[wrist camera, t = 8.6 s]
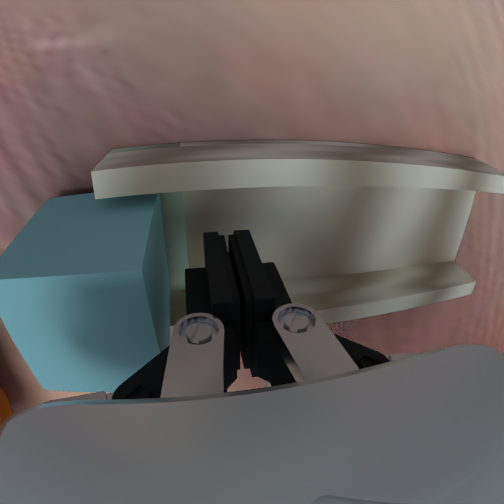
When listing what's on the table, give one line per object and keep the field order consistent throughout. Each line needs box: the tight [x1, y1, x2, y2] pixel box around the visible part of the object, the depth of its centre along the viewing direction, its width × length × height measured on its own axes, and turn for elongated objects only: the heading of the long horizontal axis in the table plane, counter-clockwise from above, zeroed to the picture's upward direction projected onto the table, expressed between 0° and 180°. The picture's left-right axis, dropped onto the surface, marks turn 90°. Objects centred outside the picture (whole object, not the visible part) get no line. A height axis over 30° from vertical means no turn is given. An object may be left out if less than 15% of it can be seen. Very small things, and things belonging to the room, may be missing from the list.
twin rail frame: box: [91, 140, 504, 342], centre depth 15 cm, size 20×8×3 cm, turn 89°
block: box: [0, 193, 171, 392], centre depth 11 cm, size 5×5×6 cm
